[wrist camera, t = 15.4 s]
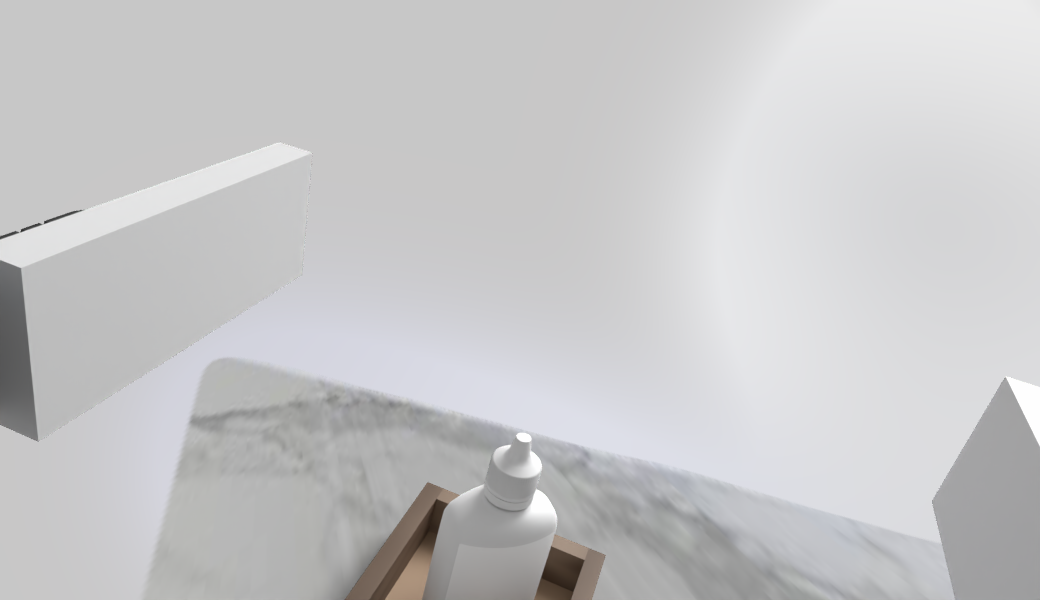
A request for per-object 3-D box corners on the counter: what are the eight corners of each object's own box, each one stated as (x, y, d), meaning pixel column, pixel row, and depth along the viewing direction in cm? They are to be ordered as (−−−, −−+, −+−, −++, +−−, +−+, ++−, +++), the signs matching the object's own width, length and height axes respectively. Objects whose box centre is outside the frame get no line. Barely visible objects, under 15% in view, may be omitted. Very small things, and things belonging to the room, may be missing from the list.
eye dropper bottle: (519, 667, 39) (581, 483, 34) (410, 639, 39) (455, 450, 34) (529, 599, 43) (585, 425, 37) (430, 574, 43) (472, 396, 37)
